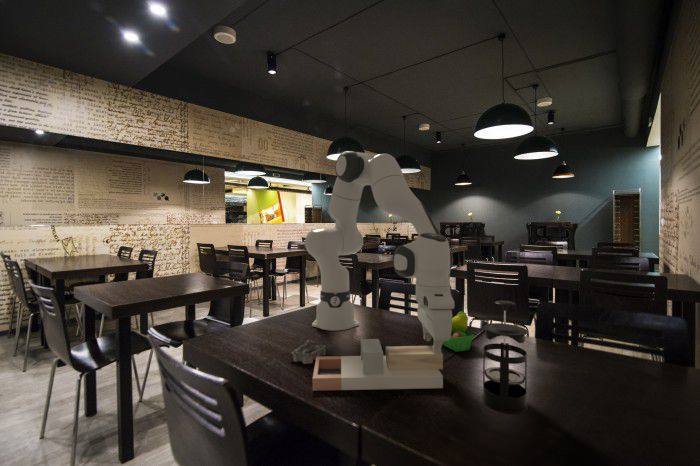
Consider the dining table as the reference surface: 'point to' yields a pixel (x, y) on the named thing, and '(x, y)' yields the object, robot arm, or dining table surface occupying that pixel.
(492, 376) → the french press
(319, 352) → the egg carton
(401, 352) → the maple bar
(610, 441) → the dining table surface
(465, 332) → the fruit basket
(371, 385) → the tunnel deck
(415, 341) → the dining table surface
